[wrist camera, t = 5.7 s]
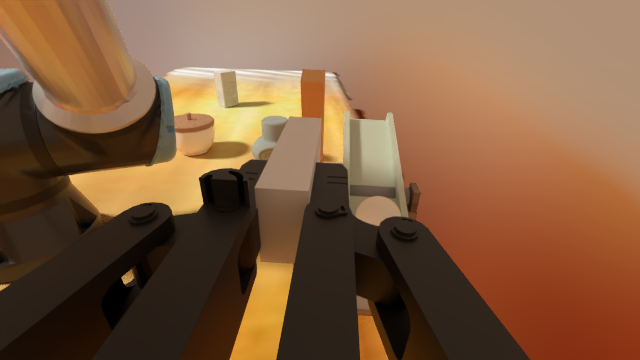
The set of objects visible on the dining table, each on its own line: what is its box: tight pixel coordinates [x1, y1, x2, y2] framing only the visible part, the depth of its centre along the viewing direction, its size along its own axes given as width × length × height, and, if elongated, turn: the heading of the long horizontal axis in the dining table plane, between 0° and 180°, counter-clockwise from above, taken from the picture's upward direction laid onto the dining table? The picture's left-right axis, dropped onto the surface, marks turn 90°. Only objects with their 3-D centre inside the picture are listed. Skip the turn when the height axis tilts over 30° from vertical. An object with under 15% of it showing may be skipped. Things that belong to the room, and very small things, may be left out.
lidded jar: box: [174, 113, 215, 156], centre depth 71 cm, size 11×11×9 cm
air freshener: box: [252, 116, 288, 160], centre depth 67 cm, size 11×8×10 cm
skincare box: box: [214, 70, 239, 108], centre depth 106 cm, size 6×4×12 cm
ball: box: [355, 196, 401, 226], centre depth 26 cm, size 4×4×4 cm
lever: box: [301, 69, 410, 218], centre depth 29 cm, size 20×10×18 cm, turn 177°
